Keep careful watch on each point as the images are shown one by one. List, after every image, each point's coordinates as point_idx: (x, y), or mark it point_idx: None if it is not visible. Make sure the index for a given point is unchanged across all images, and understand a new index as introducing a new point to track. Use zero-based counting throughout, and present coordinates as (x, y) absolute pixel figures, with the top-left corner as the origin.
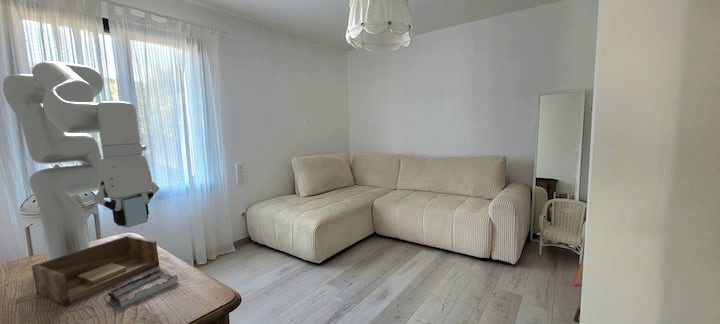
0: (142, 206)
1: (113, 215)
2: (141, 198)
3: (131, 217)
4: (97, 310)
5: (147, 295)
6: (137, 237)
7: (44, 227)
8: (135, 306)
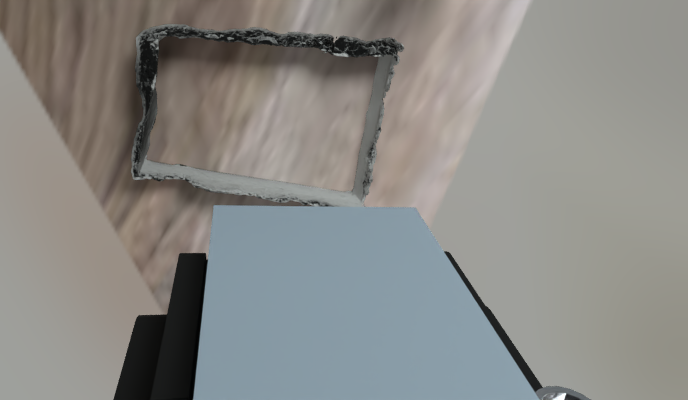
0: None
1: (120, 385)
2: None
3: None
4: (82, 79)
5: (241, 176)
6: None
7: None
8: (175, 204)
